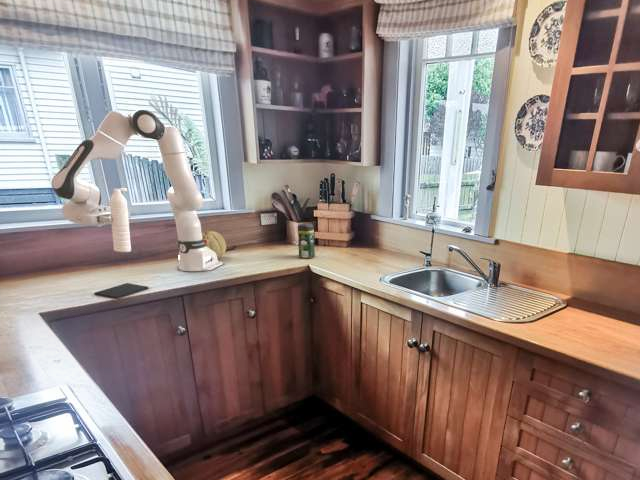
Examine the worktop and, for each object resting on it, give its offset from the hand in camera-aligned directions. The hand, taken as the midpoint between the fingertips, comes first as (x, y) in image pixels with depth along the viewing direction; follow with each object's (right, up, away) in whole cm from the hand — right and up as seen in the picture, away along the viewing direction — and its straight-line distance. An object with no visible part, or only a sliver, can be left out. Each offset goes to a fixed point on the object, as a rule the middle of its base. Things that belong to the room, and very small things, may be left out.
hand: (119, 218), depth 192 cm
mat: (0, -30, +2) cm, 30 cm away
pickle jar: (+67, -1, +69) cm, 97 cm away
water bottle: (-1, -12, +6) cm, 14 cm away
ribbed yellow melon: (+18, -4, +58) cm, 61 cm away
